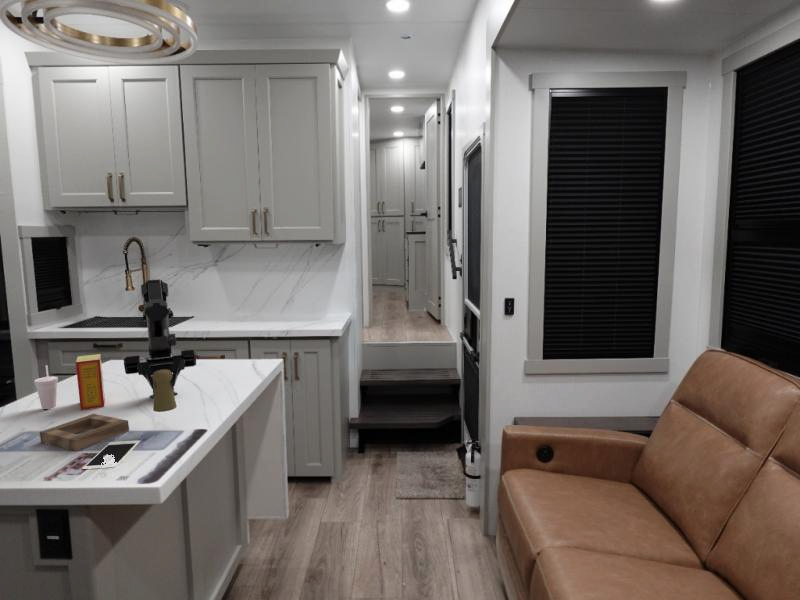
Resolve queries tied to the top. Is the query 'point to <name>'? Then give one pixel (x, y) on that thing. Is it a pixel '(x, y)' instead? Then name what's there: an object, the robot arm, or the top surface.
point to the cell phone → (114, 448)
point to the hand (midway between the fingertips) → (163, 386)
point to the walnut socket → (70, 440)
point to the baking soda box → (90, 381)
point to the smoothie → (47, 390)
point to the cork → (163, 391)
